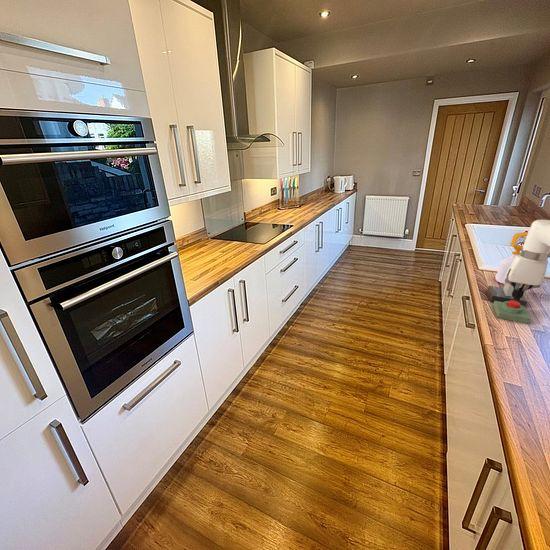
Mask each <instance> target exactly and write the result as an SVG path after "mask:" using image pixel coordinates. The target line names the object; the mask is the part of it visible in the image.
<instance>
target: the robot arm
mask: <svg viewBox="0 0 550 550" xmlns="http://www.w3.org/2000/svg"><path fill="white" fill-rule="evenodd" d="M525 237H526V238H525V240H524V243H523V245H522V246H523V248H522V250H521V251H520V252H519V253H520V255H516V257H515V258H514V260H513V261H512V263H511V265H510V267H509V269H508V271H507V274H506V276H507V277H506V279H505V280H504V281H505V283H508V284H511V285H512V286H513V287H514V289H513V292H512V296H513V298H514V299H515V300H516V299H517V300H520V298H522V296H523V295H524V294H525V293H526V292H527V291H529V290H531V289H539V288H541V284H542V283H543V282H544V279H545V276H546V273H547V270H548V265H549V260H548V259H549V258H550V219H536V220H534V221H533V222H532V223H531V224H530V227H529V229H528V235H527V236H525ZM520 285H521V286H520Z"/></svg>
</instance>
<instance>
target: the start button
mask: <svg viewBox="0 0 550 550" xmlns="http://www.w3.org/2000/svg"><path fill="white" fill-rule="evenodd" d="M508 306H510V307H512V308H519V306H520V303H519V302H517V301H514V300H510V301H509V302H508Z"/></svg>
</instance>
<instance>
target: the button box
mask: <svg viewBox="0 0 550 550" xmlns="http://www.w3.org/2000/svg"><path fill="white" fill-rule="evenodd" d="M508 302H509V301H505V302H498V301H494V302H493V304H492V307H493V310H494V312H495V315H496V318H498V319H503V320H507V321H508V320H509V321H514V322H519V323H525V324H530V322H531V320H532V317H531V316H530V314H529V312H528V310H527V309H526V306H525V307H524V306H522V305H520V306H519V308H512V307H510V306H508Z"/></svg>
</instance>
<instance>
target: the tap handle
mask: <svg viewBox="0 0 550 550" xmlns="http://www.w3.org/2000/svg"><path fill="white" fill-rule="evenodd" d="M503 285H504V286H503V287H502V288H503V291H504V293H505V295H506V296H512V292H513V289H514V287H513V286H512V285H511V284H508V283H505V284H503Z"/></svg>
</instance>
